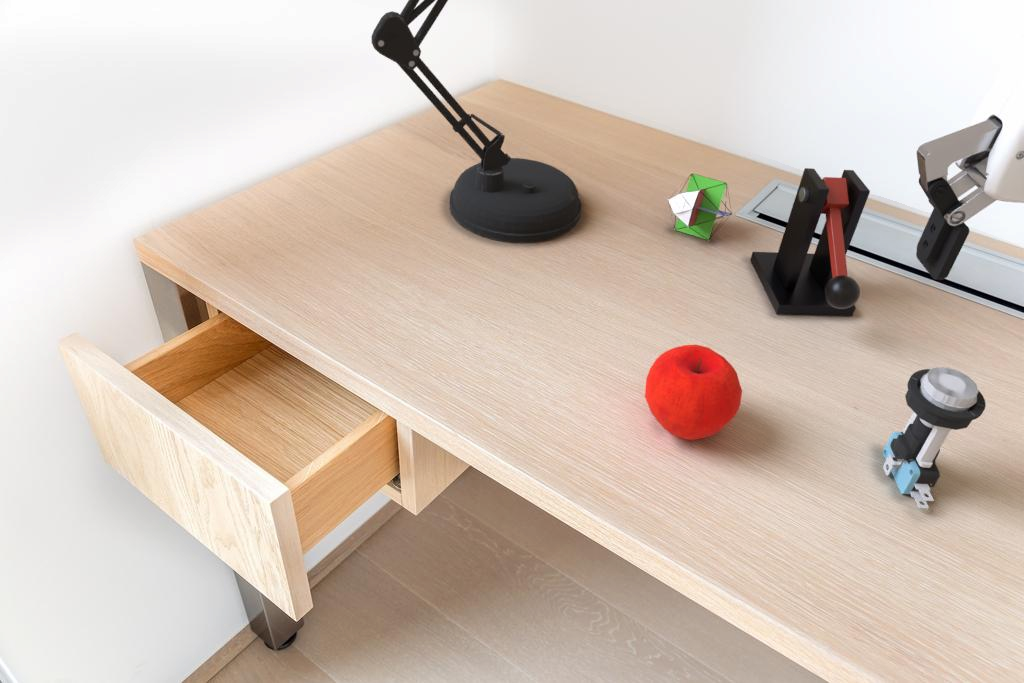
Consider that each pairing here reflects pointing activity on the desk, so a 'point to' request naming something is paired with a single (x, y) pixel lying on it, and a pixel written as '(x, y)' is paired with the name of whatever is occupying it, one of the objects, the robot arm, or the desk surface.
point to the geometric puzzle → (699, 206)
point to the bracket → (792, 269)
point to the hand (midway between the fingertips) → (998, 271)
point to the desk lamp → (484, 154)
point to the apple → (692, 391)
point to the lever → (838, 247)
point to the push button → (930, 427)
